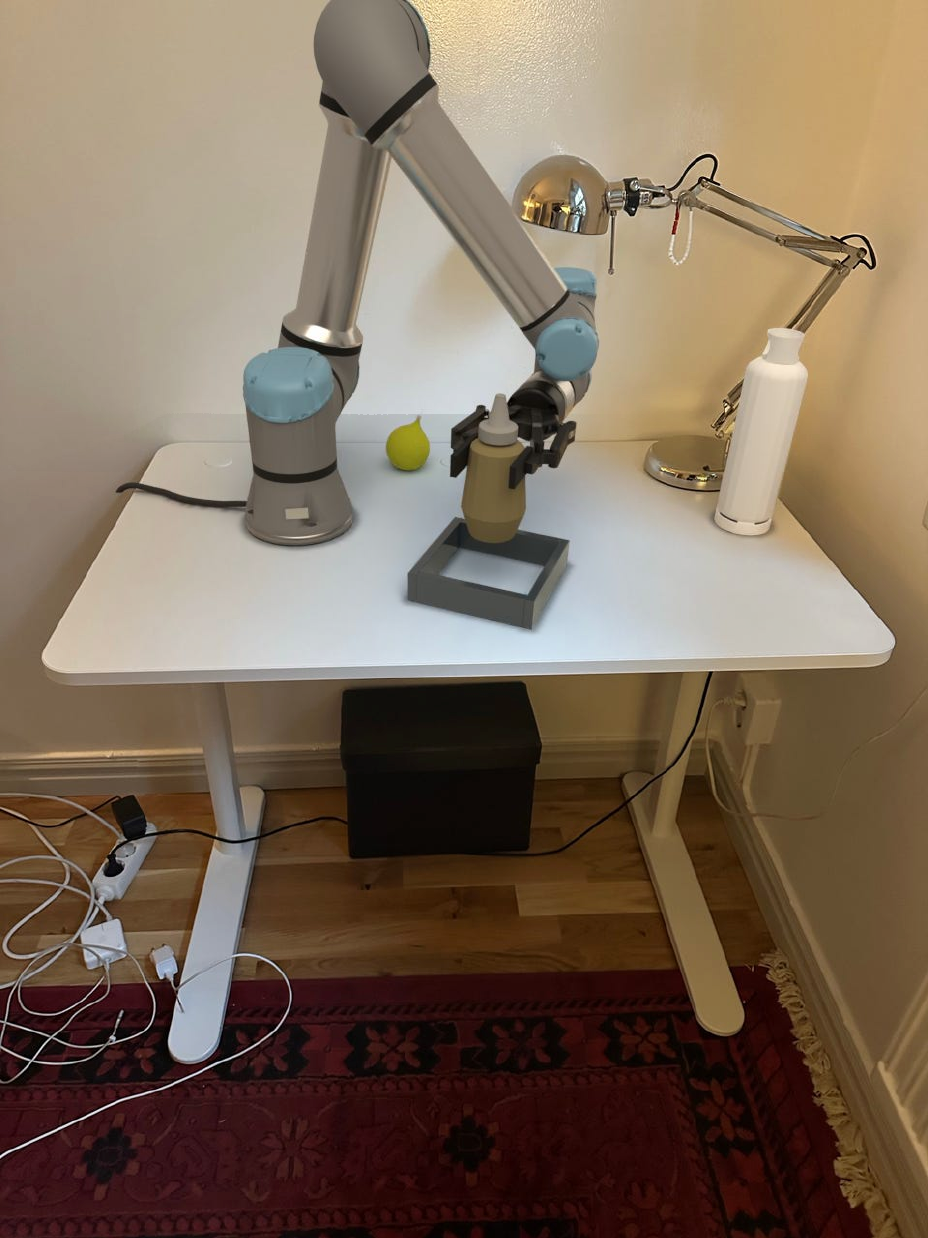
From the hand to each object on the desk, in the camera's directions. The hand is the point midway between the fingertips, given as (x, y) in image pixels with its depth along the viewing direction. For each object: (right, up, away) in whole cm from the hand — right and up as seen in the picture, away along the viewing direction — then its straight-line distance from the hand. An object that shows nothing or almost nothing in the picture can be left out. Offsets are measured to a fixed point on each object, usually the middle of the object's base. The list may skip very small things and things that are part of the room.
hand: (482, 472), depth 101 cm
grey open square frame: (+1, -12, +14) cm, 18 cm away
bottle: (+39, -3, +30) cm, 50 cm away
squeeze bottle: (+1, -6, +10) cm, 12 cm away
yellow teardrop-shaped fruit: (-11, +8, +43) cm, 45 cm away
